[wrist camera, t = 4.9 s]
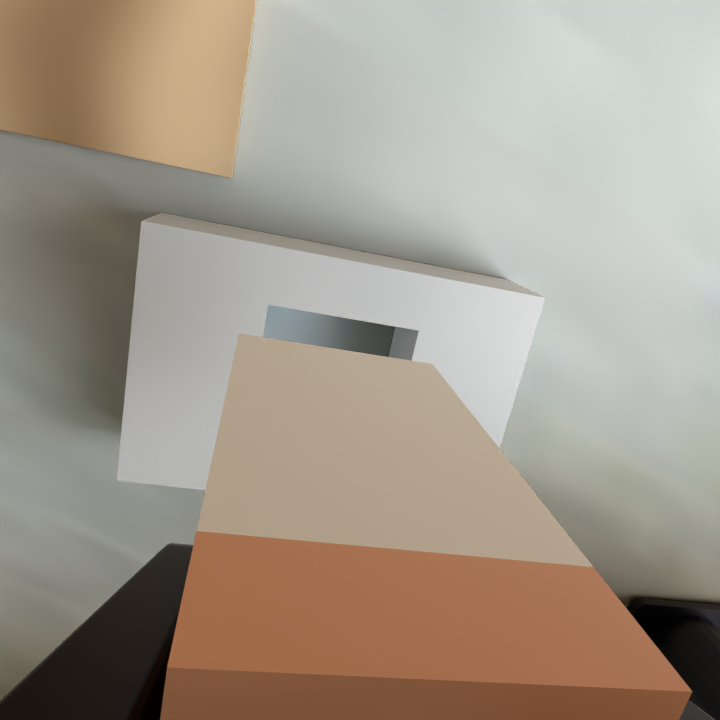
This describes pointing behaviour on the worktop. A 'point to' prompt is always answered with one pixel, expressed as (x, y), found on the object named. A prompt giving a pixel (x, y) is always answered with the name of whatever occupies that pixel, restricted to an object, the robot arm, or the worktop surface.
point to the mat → (129, 76)
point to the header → (300, 292)
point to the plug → (389, 564)
